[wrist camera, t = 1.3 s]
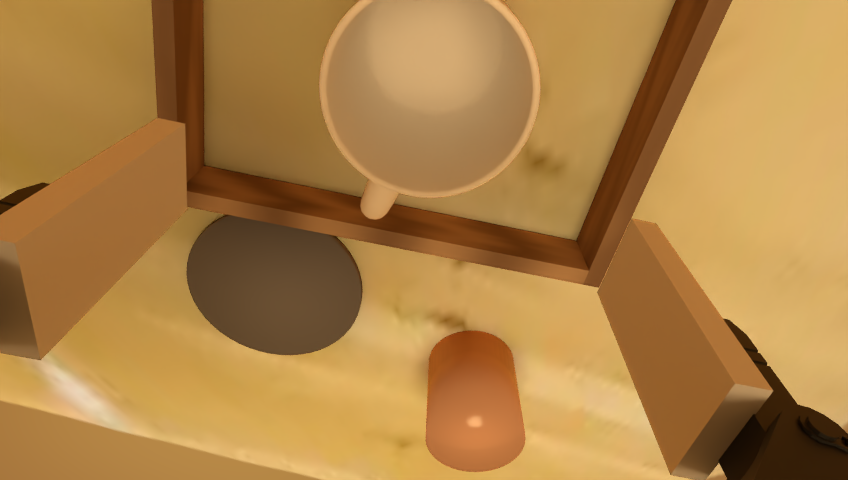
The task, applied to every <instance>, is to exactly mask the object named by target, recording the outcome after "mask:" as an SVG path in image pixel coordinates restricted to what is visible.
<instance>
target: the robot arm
mask: <svg viewBox="0 0 848 480" xmlns="http://www.w3.org/2000/svg"><path fill="white" fill-rule="evenodd" d="M186 210H187V180H186V139H185V124H184V123H180V122H175V121H170V120H165V119H161V118H157V119H155V120H153V121H152V122H150V123H148V124H147V125H145V126H144V127H142V128H140V129H139V130H137V131H135V132H134V133H132V134H131V135H129V136H127V137H126V138H124V139H123V140H121V141H119V142H118V143H116V144H114V145H113V146H111V147H110V148H108V149H106V150H105V151H103V152H101V153H100V154H98V155H97V156H95V157H93V158H92V159H90V160H89V161H87V162H85V163H84V164H82V165H80V166H79V167H77V168H76V169H74V170H72V171H71V172H69V173H67V174H66V175H64V176H63V177H61V178H59V179H58V180H56V181H54V182H53V183H51V184H47V183H40V184H36V185H33V186H30V187H26V188H23V189H20V190H17V191H15V192H14V193H12V194H10V195H8V196H7V197H5V198H3V199H2V200H0V352H1V353H4V354H9V355H15V356H20V357H26V358H31V359H37V360H41V359H42V358H43V357H44V356H45V355H46V354H47V353H48V352H49V351H50V350H51V349H52V348H53V347H54V346H55V345H56V344H57V343H58V342H59V341H60V340H61V339H62V338H63V337H64V336H65V335H66V334H67V332H68V331H69V330H70V329H71V328H72V327H73V326H74V325H75V324H76V323H77V322H78V321H79V320H80V319H81V318H82V317H83V316H84V315H85V314H86V313H87V312H88V311H89V310H90V309H91V308H92V307H93V306H94V305H95V304H96V303H97V302H98V301H99V300H100V299H101V297H102V296H103V295H104V294H105V293H106V292H107V291H108V290H109V289H110V288H111V287H112V286H113V285H114V284H115V283H116V282H117V281H118V280H119V279H120V278H121V277H122V276H123V275H124V274H125V273H126V272H127V271H128V270H129V269H130V268H131V267H132V266H133V265H134V264H135V263H136V261H137V260H138V259H139V258H140V257H141V256H142V255H143V254H144V253H145V252H146V251H147V250H148V249H149V248H150V247H151V246H152V245H153V244H154V243H155V242H156V241H157V240H158V239H159V238H160V237H161V236H162V235H163V234H164V233H165V232H166V231H167V230H168V229H169V228H170V226H171V225H172V224H173V223H174V222H175V221H176V220H177V219H178V218H179V217H180V216H181V215H182V214H183V213H184V212H185V211H186ZM597 293H598V295H599V298H600V300H601V303H602V305H603V308H604V310H605V313H606V315H607V318H608V320H609V323H610V325H611V328H612V330H613V333H614V335H615V338H616V340H617V343H618V345H619V348H620V350H621V353H622V355H623V358H624V360H625V363H626V365H627V368H628V370H629V373H630V375H631V378H632V380H633V383H634V385H635V388H636V390H637V393H638V395H639V398H640V400H641V403H642V405H643V407H644V410H645V412H646V415H647V417H648V420H649V422H650V425H651V427H652V430H653V432H654V435H655V437H656V440H657V442H658V445H659V447H660V450H661V452H662V455H663V457H664V460H665V462H666V465H667V467H668V470H669V472H670V475H673V476H679V477H684V478H690V479H695V480H706V479H707V477H708V476H709V475H710V474H711V472H712V471H713V470H714V468H715V467H716V466H717V464H718V463H720V465H721V467H722V469H723V471H724V473H725V475H726V477H727V480H848V434H847V433H846V432H845V431H844V430H843V429H842V428H841V427H840V426H839V425H838V424H837V423H835V422H834V421H832V420H831V419H829V418H828V417H826V416H825V415H823V414H821V413H819V412H817V411H815V410H813V409H811V408H808V407H804V406H801V405H798V404H797V403H796V402H795V400H794V399H793V398H792V396H791V395H790V393H789V392H788V391H787V389H786V388H785V387H784V385H783V384H782V383H781V381H780V380H779V378H778V377H777V376H776V374H775V373H774V372H773V370H772V369H771V367H770V366H767V362H766V361H765V359H764V358H763V357H762V355H761V354H760V353H758V350H757V348H756V347H755V346H754V344H753V343H752V342H751V340H750V339H749V337H748V336H747V335H746V334H745V333H744V332H743V331H741V330H740V329H739V328H738V327H737V326H736V325H734V324H733V323H732V322H731V321H730V320H727V319H723V318H722V317H721V315H720V314H719V313H718V311H717V310H716V308H715V307H714V305H713V304H712V303H711V301H710V300H709V298H708V297H707V295H706V294H705V293H704V291H703V290H702V288H701V287H700V285H699V284H698V283H697V281H696V280H695V278H694V277H693V275H692V274H691V273H690V271H689V270H688V268H687V267H686V265H685V264H684V263H683V261H682V260H681V258H680V257H679V255H678V254H677V253H676V251H675V250H674V248H673V247H672V245H671V244H670V243H669V241H668V240H667V238H666V237H665V235H664V234H663V233H662V231H661V230H660V228H659V227H658V225H657V224H656V223H651V222H646V221H642V220H637V219H632V218H631V221H630V223H629V225H628V227H627V229H626V231H625V234H624V236H623V238H622V240H621V242H620V244H619V247H618V249H617V251H616V253H615V255H614V257H613V259H612V262H611V264H610V266H609V268H608V270H607V272H606V275H605V277H604V279H603V281H602V283H601V285H600V288H599V290H598V292H597Z"/></svg>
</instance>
